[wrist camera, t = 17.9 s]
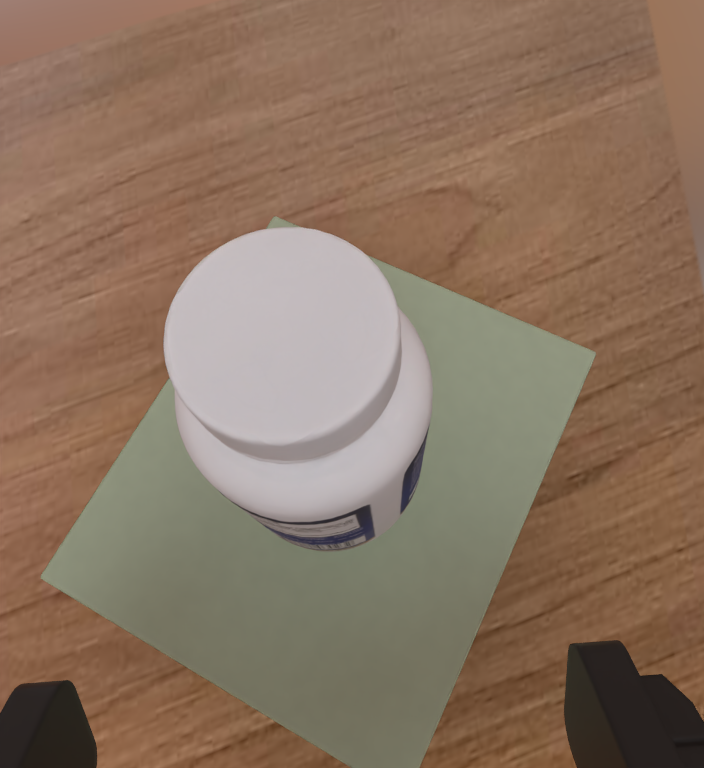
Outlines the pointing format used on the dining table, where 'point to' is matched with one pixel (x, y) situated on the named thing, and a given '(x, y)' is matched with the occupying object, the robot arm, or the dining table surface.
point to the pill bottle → (300, 386)
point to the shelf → (340, 568)
